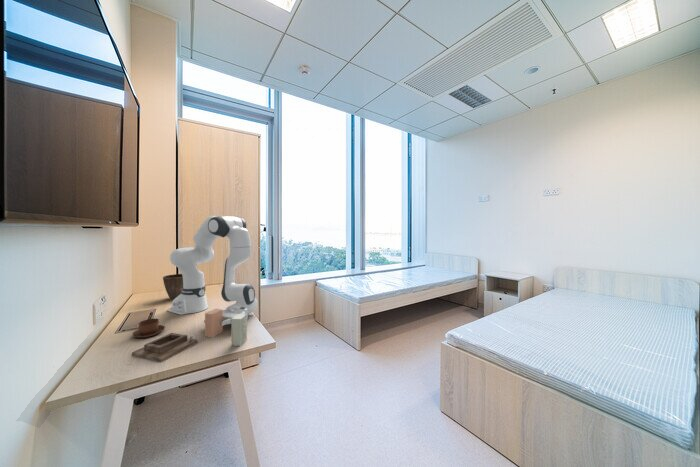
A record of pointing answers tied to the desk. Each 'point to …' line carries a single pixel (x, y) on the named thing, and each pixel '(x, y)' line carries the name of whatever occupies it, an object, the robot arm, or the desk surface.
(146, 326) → the cup and saucer
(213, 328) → the keyed block
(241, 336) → the skincare box
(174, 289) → the plant pot
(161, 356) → the keyed holder
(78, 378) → the desk surface
